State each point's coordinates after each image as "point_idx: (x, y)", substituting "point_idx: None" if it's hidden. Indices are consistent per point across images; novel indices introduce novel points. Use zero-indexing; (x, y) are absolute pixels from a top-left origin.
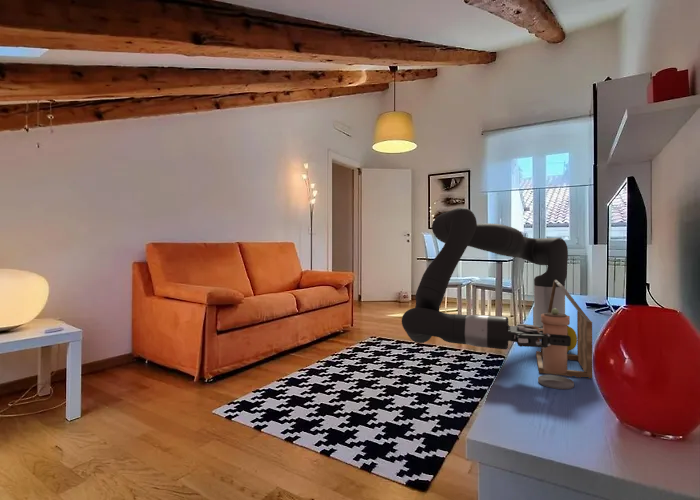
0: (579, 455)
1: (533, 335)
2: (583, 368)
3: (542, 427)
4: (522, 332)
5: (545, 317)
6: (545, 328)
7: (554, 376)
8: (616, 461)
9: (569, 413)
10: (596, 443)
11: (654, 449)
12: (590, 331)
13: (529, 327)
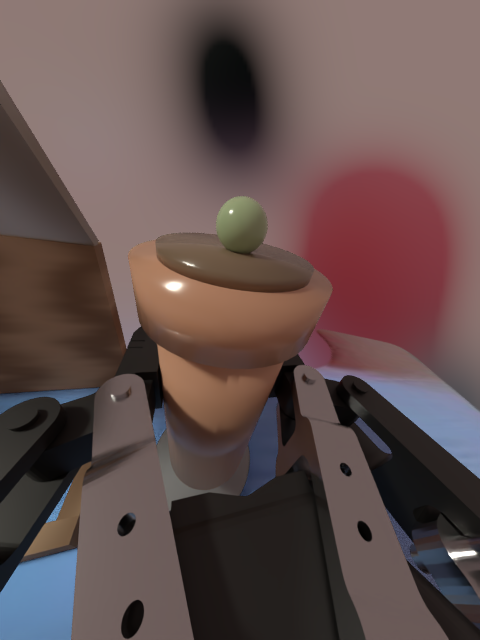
0: (454, 407)
1: (440, 448)
2: (56, 385)
3: (458, 459)
4: (464, 626)
5: (325, 303)
6: (276, 371)
7: (167, 459)
8: (417, 377)
9: (357, 419)
10: (405, 390)
11: (356, 350)
12: (106, 277)
13: (176, 568)
